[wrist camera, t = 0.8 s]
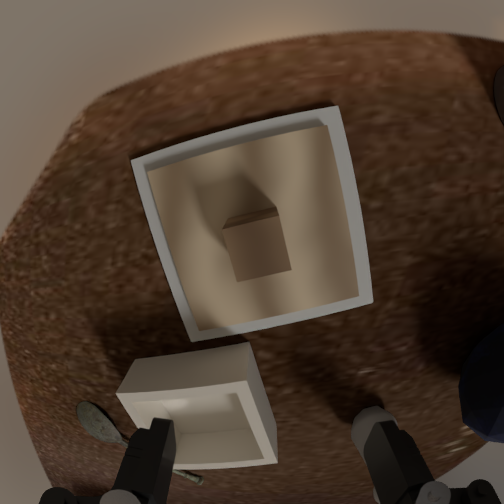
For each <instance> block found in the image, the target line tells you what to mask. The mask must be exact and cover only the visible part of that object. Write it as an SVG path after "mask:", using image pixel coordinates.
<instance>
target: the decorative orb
mask: <svg viewBox="0 0 504 504" xmlns="http://www.w3.org/2000/svg"><path fill="white" fill-rule="evenodd" d="M458 388H459V397H460V404H461V411H462V419H463V423H464V424H466V425H467V426H468V427H469V428H470V429H472V430H473V431H474V432H475V433H476V434H478V435H479V436H480V437H481V438H482V439H484V440H485V441H492V442H499V443H504V323H502V324H501V325H500V326H498V327H497V328H496V329H495V330H494V331H492V332H491V333H490V334H489V335H487V336H486V337H485V338H484V339H482V340H481V341H480V342H479V343H478V344H477V346H476V347H475V348H474V349H473V350H472V352H471V354H470V355H469V357H468V358H467V360H466V361H465V363H464V364H463V366H462V371H461V377H460V382H459V387H458Z"/></svg>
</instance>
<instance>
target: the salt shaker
mask: <svg viewBox="0 0 504 504" xmlns="http://www.w3.org/2000/svg"><path fill="white" fill-rule="evenodd" d="M388 420H393V421H395V423H396V425H397V421H396V419H395V418H394V417H393V415H392V414H391V413H389V412H387V411H386V410H384V409H382V408H380V407H379V406H373V407H369V408H365V409H363V410H362V411H361V412H360V413H359V414H358V415H357V416H356V417H355V418H354V421H353V425H352V429H351V439H352V440H353V442H354V444H355V446H356V447H357V449H358V451H359V453H360V454H361V456H362V458H363V459H364V453H363V450H364V445H365V443H366V440H367V438H368V436H369V434H370V432H371V430H372V427H373V425H374V424H375V423H376V422H381V421H388ZM364 461H365V459H364ZM365 463H366V461H365ZM366 465H367V464H366ZM373 494H374V498H375V500H376V502H378V503H379V504H380V501H379V498H378V495H377V493H376V490H375V487H374V490H373Z"/></svg>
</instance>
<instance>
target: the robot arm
mask: <svg viewBox="0 0 504 504" xmlns="http://www.w3.org/2000/svg"><path fill="white" fill-rule="evenodd" d="M494 96H495V102H496V106H497V110H498V113H499V115H500V118H501V120H502V122H503V124H504V66H502V67H501V68H500V69H499V70H498V72H497V73H496V76H495V81H494ZM363 453H364V459H365V461H366V464H367V467H368V470H369V473H370V475H371V478H372V481H373V484H374V487H375V490H376V493H377V495H378V498H379V501H380V504H501V502H500V500H499V498H498V496H497V494H496V492H495V490H494V489H493V486H492V485H491V484H490V483H489V482H488V481H486V480H482V479H479V480H475V481H473V482H471V483H470V485H469V486H468V487H467V488H448V486H446V485H445V484H444V483H442V482H438V481H435V480H434V478H433V476H432V474H431V472H430V471H429V469H428V467H427V465H426V463H425V461H424V459H423V457H422V455H420V451H419V449H418V448H417V445H416V444H415V442H414V440H413V438H412V437H411V436H410V435H409V434H408V433H407V432H406V431H405V430H399V428H398V426H397V425H396V423H395V421H393V420H388V421H381V422H376V423H375V424H374V425H373V427H372V430H371V432H370V434H369V436H368V438H367V440H366V443H365V445H364V450H363ZM175 456H176V438H175V430H174V422H173V420H170V419H163V418H157V417H154V418H153V420H152V423H151V426H150V429H145V428H139V429H138V430H137V431H136V432H135V433H134V434H133V435H132V436H131V438H130V441H129V444H128V448H127V449H126V452H125V456H124V457H123V460H122V463H121V466H120V469H119V472H118V474H117V477H116V480H115V483H114V485H113V487H112V489H111V490H110V491H109V492H107V493H105V494H104V495H101V496H97V497H85V496H74V495H73V494H72V493H71V492H70V491H69V490H67V489H64V488H60V487H54V488H50V489H48V490H46V491H45V492H44V493H43V495H42V497H41V499H40V502H39V504H166V501H167V496H168V491H169V485H170V481H171V476H172V471H173V466H174V461H175Z"/></svg>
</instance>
